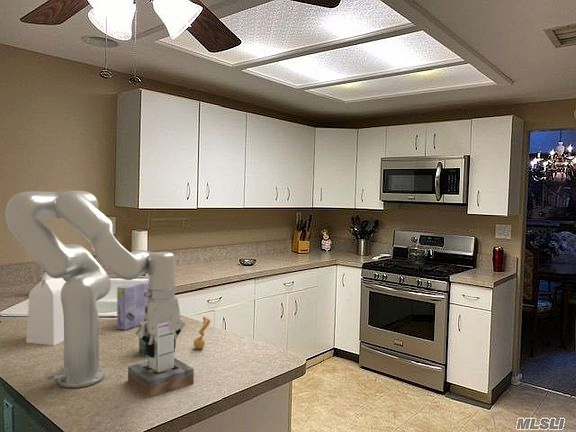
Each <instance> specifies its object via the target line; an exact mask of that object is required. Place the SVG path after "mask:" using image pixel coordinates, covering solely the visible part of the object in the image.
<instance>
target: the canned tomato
mask: <svg viewBox="0 0 576 432" xmlns="http://www.w3.org/2000/svg"><path fill="white" fill-rule="evenodd" d="M142 324H143V321H140V322H139V326H138V329H139V328H140V327H141V325H142ZM143 334H144V335H145V336H146V335H147V332H143ZM138 339H139V340H138V341H139V342H138V355H139V356H141V357H144V358H145V357H146V358H148V355H147V354H146V342H144V341H143V340H142V339H141V338H140V337H138Z"/></svg>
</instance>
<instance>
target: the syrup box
mask: <svg viewBox="0 0 576 432" xmlns="http://www.w3.org/2000/svg"><path fill="white" fill-rule="evenodd" d="M168 323H169V322H168ZM168 323H166V322H163V323H160V324H158V325H157V335H155V336H154V340H153V344H154V357H153V358H151V357H149V356H148V357H147V361H148V367H149V368H150V369H152V370H154V371H156V372H162V371H166V370H169V369H172V368H174V358H175V352H174V331H171V332H169V326H168V325H169V324H170V323H171V322H170V323H169V324H168Z"/></svg>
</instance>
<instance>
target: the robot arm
mask: <svg viewBox="0 0 576 432" xmlns="http://www.w3.org/2000/svg"><path fill="white" fill-rule="evenodd" d="M4 212H5V214H4V216H5V223H6V225H7V227H8V229H9V231H10V233H12V234H13V236H14V238H16V239H17V240H18V242H20V243H21V245H22V246H23V247H24V248H25V249H26V250H27V252H28V253H29V255H31V256H32V258H33V260H34V261H35V262H36V263H37V264H38V265H39V267H40V268H41V269H42V271H44V273H45V272H46V273H47V275H49V276H50V277H52V278H57V279H58V278H63V279H64V278H66V277H70V278H69V279H67V280H65V281H66V283H65V284H64V285H63V287H62V289H61V302H62V307H63V315H64V341H63V365H60V368H58V369H56V370H55V371H50V372H46V373H45V380H46V381H48V380H53V381H54V382H55V381H57V383H58V385H59V386H61V387H64V388H75V389H76V388H84V387H88V386H92V385H94V384H97V383H99V382H100V381H102V380H103V379H104V377H105V371H104V370H103V369H102V368H100V364H99V363H100V359H99V358H100V353H99V352H100V342H99V341H100V320H99V318H100V317H99V312H98V307H97V303H96V302H98V301H100V300H101V299H103V298H104V297H106V296H107V295H108V294H109V293H110V291H111V289H112V282H111V281H112V280H111V278H110V276H109V275H108V273H107V271H106V270H105V269H104V268H103V266H102V265H104V266H105V268H107V269H108V270H109V271H110V272H111V273H112V274H114V275H115V276H116V277H118V278H120V279H122V280H124V281H125V280H126V281H132V280H135V279H137V278H139V277H142V276H145V275H148V281H149V283H148V292H145V293H144V296H145V297H148V299H147V300H146V303H145V308H144V316H143V324H142V325H141V327H140V328H139V327H138V329H137V330H136V331H135V335H136V336H137V337H138V338H139V337H140V338H141V339H142V340H143V341H144V342H146V354H147V355H148V356H149V357H151V358H153V357H154V344H153V340H154V336H155V335H157V325H158V324H160V323H163V322H166V323H168V322H169V323H170V322H171V323H170V324H169V323H168V324H169V325H168V326H169V332H171V331H174V353H175V352H176V350H175V349H176V341H177V339H178V336H179V335H180V333H181V332H182V330H183V329H184V328H185V326H186V323H185V322H184V321H183V320H182V319H181V311H180V304H179V300H178V299H179V298H178V297H177V296H175V295H176V294H175V293H176V292H175V291H176V285H175V284H176V283H175V282H176V256H175V254H174V253H172V252H169V251H156V252H155V251H149V250H141V249H138V250H134V251H128V250H127V249H126V248H125V247H124V246H123V245H122V244H121V243H120V242H119V241H118V240H117V239H116V237H115V236H114V235H115V234H114V233H113V227H114V225H113V222H112V220H111V219H110V218H108V217H107V216H106V215H105V213H103V212H102V211H100V210H99V202H98V199H97V197H96V196H95V195H94V194H92V193H91V192H89V191H85V190H67V191H34V190H33V191H32V190H31V191H22V192H19V193H16V194H15V195H13V196H12V197H11V198H10V199H9V201H8V202H7V204H6V208H5V211H4ZM47 219H63V220H65V221H66V222H67V223H68V224H69V225H70V226H71V227H73V228H74V229H75V230H76V231H77V232H78V233H79V234H80V235H82V237H83V238H85V239H86V240H87V241H88V242H89V244H90V246H91V248H92V250H93V253H94V254H95V256H96V257H97V259H98V260H99V262H101V264H102V265H101V264H100V263H99V262H98V261H97V259H96V258H95V257H94V256H93V255H92V254H91V252H90V251H89V250H88V249H87V248H86V247H84V246H82V245H80V244H78V243H69V244H64V242H62V241H61V240H60V239H59V237H58V236H57V235H56V234H55V233H54V231H53V230H51V229H50V227H48V226H47V225H45V224H44V223H43V222H42V221H41V220H47ZM143 332H147V335H146V336H145V335H144V334H143Z"/></svg>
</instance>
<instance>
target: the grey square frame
mask: <svg viewBox="0 0 576 432" xmlns="http://www.w3.org/2000/svg"><path fill="white" fill-rule="evenodd" d="M194 370H195V369H194V368H193V367H191V366H190V365H188V364H186V363H185V362H182V361H181V360H179V359H177V357H176V358H175V357H174V368H172V369H169V370H166V371H162V372H156V371H154V370H152V369H150V368H149V367H148V360H147V361H144V362H140V363H136V364H132V365H128V366H127V382H129V384H131V385H132V386H134V387H135V388H136V389H138V390H139V391H140V392H141V393H142V394H144V395H145V396H147V397H148V398H152V397H155V396H158V395H161V394H166V393H169V392H172V391H174V390H177V389H180V388H183V387H187V386H191V385H194V379H195V377H194V373H195V371H194Z"/></svg>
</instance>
